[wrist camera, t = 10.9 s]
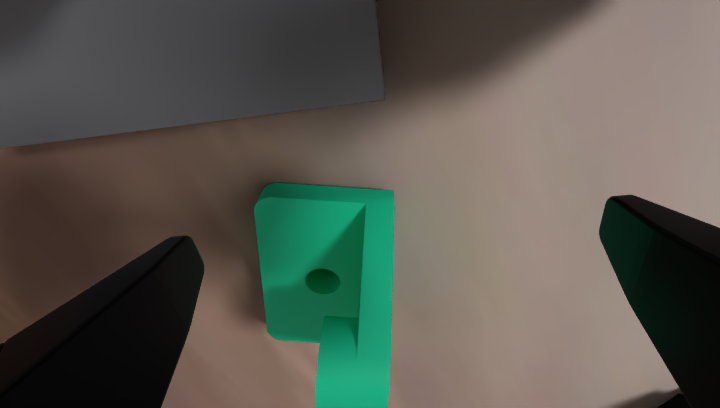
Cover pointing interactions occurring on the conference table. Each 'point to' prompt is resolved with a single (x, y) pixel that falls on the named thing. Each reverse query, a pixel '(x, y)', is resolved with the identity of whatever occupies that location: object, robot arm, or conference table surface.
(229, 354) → the conference table surface
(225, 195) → the conference table surface
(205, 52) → the mount block
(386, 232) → the camera mount
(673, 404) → the game console
